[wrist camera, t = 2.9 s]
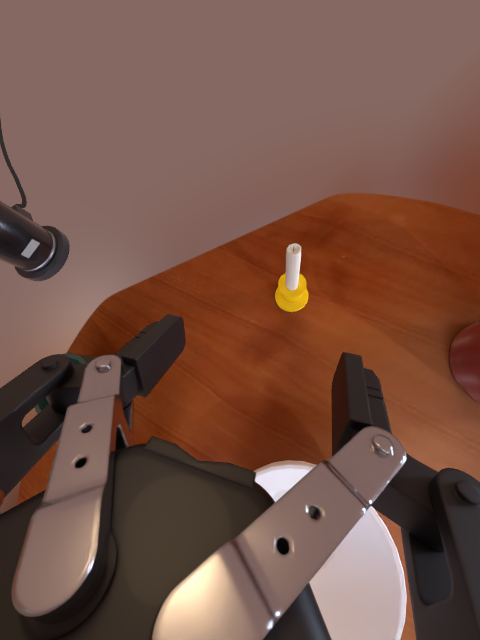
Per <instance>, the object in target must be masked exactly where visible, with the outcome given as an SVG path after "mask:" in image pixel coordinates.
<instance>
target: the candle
mask: <svg viewBox="0 0 480 640" xmlns="http://www.w3.org/2000/svg"><path fill="white" fill-rule="evenodd" d="M300 262H301V246H300V245H299V244H296V243H295V244H291V245H289V246H288V248H287V252H286V273H285V274H283V275H282V276H281V277H280V279H279V281H278V288H277V289H276V292H275V300H276V303H277V305H278V306H279V307H280V308H281V309H283V310H284V311H287V312H295V311H298V310H300V309H302V308H303V307H304V306H305V305H306V303H307V300H308V291H307V289H306V280H305V278H304V276H303V275H302V274H300V273H299V271H300Z"/></svg>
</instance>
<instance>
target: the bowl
mask: <svg viewBox="0 0 480 640" xmlns="http://www.w3.org/2000/svg"><path fill="white" fill-rule="evenodd" d="M315 466H316V465H315V464H312V463H308V462H305V461H293V460H286V461H280V462H273V463H271V464H268V465H266V466H263V467H260V468H258V469H256V470H255V471H253V472H256V478H255V482H256V483H258V484H259V485H261V486H262V487H263V488H264V489H265V490H266V491H267V492H268V493H269V494H270V496H271V497H272V498H273V499H274V501H275V502H276V501H277V500H278V499H280V498H281V497H282V496H283V495H284V494H285V493H286V492H287V491H288V490H289V489H291V488H292V487H293V486H294V485H295V484H296V483H297V482H298V481H299V480H301V479H302V478H303V477H304V476H305V475H306V474H307V473H308V472H309V471H311V470H312V469H313V468H314V467H315ZM309 583H310V586H311V588H312V591H313V593H314V596H315V599H316V601H317V604H318V606H319V609H320V611H321V614H322V616H323V619H324V622H325V624H326V627H327V629H328V632H329V634H330V637H331V639H332V640H400V638H401V634H402V630H403V626H404V623H405V614H406V597H407V596H406V588H405V579H404V571H403V568H402V565H401V561H400V558H399V554H398V551H397V548H396V546H395V544H394V542H393V540H392V537H391V535H390V533H389V531H388V529H387V527H386V525H385V524H384V522H383V521H382V519H381V518H380V517H379V515H378V514H377V512H376V511H375V509H374V508H373V507H372V506H370V507H369V509H368V510H367V511H366V512H365V514H364V515H363V516H362V517H361V518H360V520H359V521H358V522H357V523H356V525H355V526H354V527H353V528H352V530H351V531H350V532H349V533H348V535H347V536H346V537H345V538H344V540H343V541H342V542H341V543H340V545H339V546H338V547H337V548H336V550H335V551H334V552H333V553H332V555H331V556H330V557H329V558H328V559H327V561H326V562H325V563H324V564H323V566H322V567H321V568H320V569H319V571H318V572H317V573H316V574H315V576H314V577H313V578H312V579H311V581H310V582H309Z"/></svg>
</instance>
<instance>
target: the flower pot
mask: <svg viewBox="0 0 480 640" xmlns="http://www.w3.org/2000/svg"><path fill="white" fill-rule="evenodd" d="M449 361H450V367H451V371H452V373H453V376H454V378H455V380H456V381H457V383H458V384H459V385H461V386H462V387H463V388H464V389H465V390H466V391H467V393H468V394H469V395H470V396H471V398H472V399H474V400H475V401H476V402H478V403H480V320H479V321H477V322H474V323H472V324H470V325H469V326H467V327H466V328H464V329H463V330H462V331H460V332H459V333H458V334H457V335H456V337H455V338H454V340H453V342H452V345H451V348H450V354H449Z"/></svg>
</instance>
